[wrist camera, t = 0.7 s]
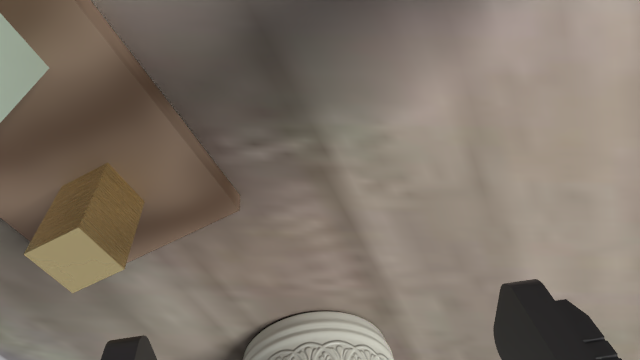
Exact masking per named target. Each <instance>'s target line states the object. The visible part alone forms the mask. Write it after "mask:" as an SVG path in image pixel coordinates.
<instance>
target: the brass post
mask: <svg viewBox="0 0 640 360" xmlns="http://www.w3.org/2000/svg"><path fill="white" fill-rule="evenodd" d="M144 203H145V202H144V201H143V199H142V198H141V197H140V196H139V195H138V194H137V193H136V192H135V191H134V190H133V189H132V188H131V187H130V186H129V185H128V183H127V182H126V181H125V180H124V179H123V178H122V177H121V176H120V175H119V174H118V173H117V172H116V171H115V170H114V169H113V167H112V166H111V165H110V164H109V163H106V164H104V165H102V166H100V167H98V168H96V169H94V170H92V171H90V172H88V173H87V174H85V175H83V176H81V177H79V178H77V179H75V180H73V181H71V182H69V183H67V184H65V185H63V186H61V188H60V190H59V192H58V194H57V195H56V197H55V199H54V201H53V203H52V204H51V206H50V208H49V210H48V212H47V213H46V215H45V217H44V219H43V221H42V222H41V224H40V226H39V228H38V229H37V231H36V233H35V235H34V237H33V238H32V240H31V242H30V244H29V246H28V247H27V249H26V251H25V253H24V255H25V256H26V257H27V258H29V259H30V260H31V261H32V262H34V263H35V264H36V265H37V266H39V267H40V268H41V269H42V270H44V271H45V272H46V273H48V274H49V275H50V276H51V277H53V278H54V279H55V280H56V281H58V282H59V283H60V284H61V285H63V286H64V287H65V288H66V289H68V290H69V291H70V292H71V293H75V292H77V291H79V290H81V289H83V288H85V287H87V286H90V285H92V284H94V283H96V282H98V281H100V280H103V279H105V278H107V277H109V276H111V275H113V274H115V273H118V272H120V271H122V270H124V269H125V266H126V262H127V259H128V256H129V252H130V249H131V246H132V243H133V239H134V236H135V233H136V229H137V226H138V223H139V219H140V216H141V213H142V209H143V206H144Z"/></svg>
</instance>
